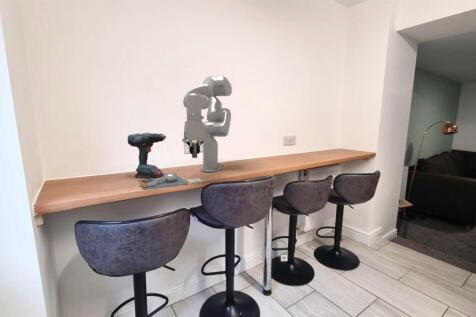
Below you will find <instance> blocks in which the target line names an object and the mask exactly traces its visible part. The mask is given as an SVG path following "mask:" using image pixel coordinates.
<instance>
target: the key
mask: <svg viewBox="0 0 476 317" xmlns="http://www.w3.org/2000/svg"><path fill="white" fill-rule="evenodd" d="M192 147H193V154H191V158H192V159H198V154H197V141H192Z"/></svg>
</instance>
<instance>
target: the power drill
mask: <svg viewBox="0 0 476 317" xmlns="http://www.w3.org/2000/svg"><path fill="white" fill-rule="evenodd" d="M166 138H167V136H166V134H164V133H153V132H144V133H140V132H139V133H133V134H128V135H127V144H128V145H129V146H131V147H132V148H133V147H134V148H137V149H138V166H137V168H135V171H136V174H135V179H136V178H138V179H139V178H141V179H152V178H161V177H162V176H163V174H164V173H163V171H162V170H161V169H160V168H158V166H156V165H154V164H148V158H149V157H148V156H149V153H151V152H152V147H153V146H154V144H155V143H157V144H158V143H160V142H163V141H165V140H166Z"/></svg>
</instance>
